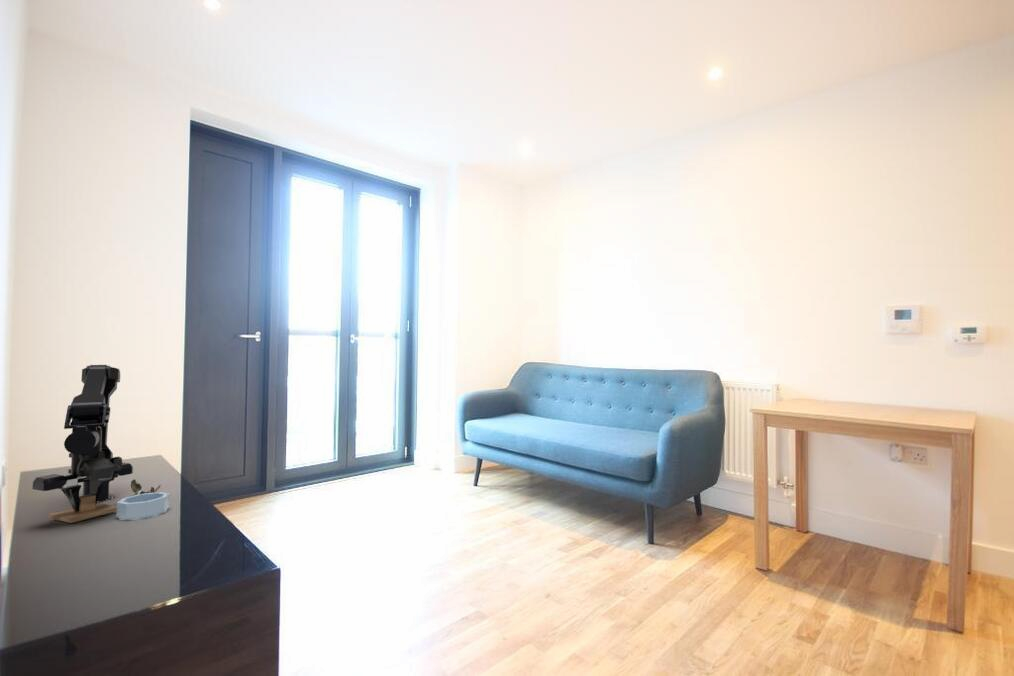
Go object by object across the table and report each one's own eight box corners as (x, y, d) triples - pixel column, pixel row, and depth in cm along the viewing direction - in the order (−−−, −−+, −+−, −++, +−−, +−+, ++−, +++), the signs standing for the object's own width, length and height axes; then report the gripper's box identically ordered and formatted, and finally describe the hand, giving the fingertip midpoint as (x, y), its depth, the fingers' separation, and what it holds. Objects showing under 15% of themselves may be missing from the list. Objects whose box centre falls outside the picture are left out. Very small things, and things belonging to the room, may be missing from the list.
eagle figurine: (164, 494, 135) (134, 489, 135) (158, 477, 132) (127, 472, 132) (144, 515, 129) (113, 510, 129) (138, 498, 125) (105, 493, 125)
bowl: (109, 519, 117) (110, 501, 117) (152, 507, 126) (152, 490, 127) (133, 523, 113) (133, 505, 114) (175, 511, 123) (176, 494, 123)
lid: (48, 518, 115) (49, 500, 116) (96, 506, 125) (97, 489, 125) (71, 522, 112) (71, 504, 112) (118, 510, 121) (119, 493, 121)
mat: (48, 522, 115) (48, 520, 115) (96, 510, 125) (96, 508, 125) (70, 527, 112) (70, 525, 112) (118, 514, 121) (118, 513, 121)
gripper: (57, 457, 107) (55, 525, 106) (145, 444, 124) (144, 502, 124) (32, 454, 112) (30, 519, 111) (121, 441, 129) (119, 498, 128)
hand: (84, 509), depth 118 cm, fingers closed on lid, 3 cm apart
